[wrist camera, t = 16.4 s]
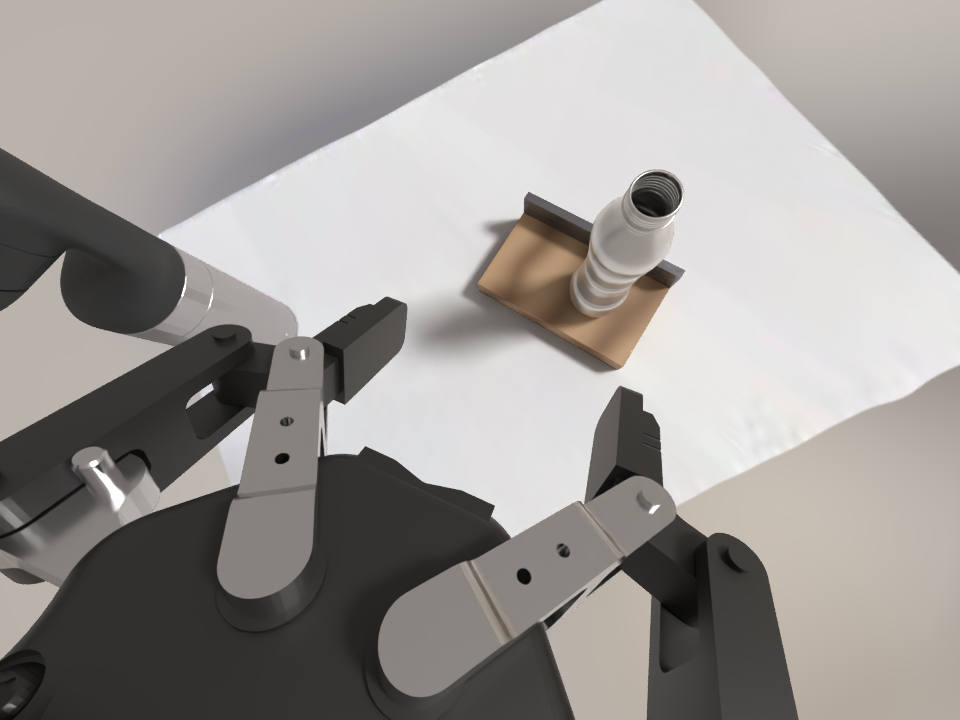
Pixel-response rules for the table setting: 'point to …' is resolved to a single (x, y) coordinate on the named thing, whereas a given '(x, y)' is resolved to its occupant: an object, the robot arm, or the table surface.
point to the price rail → (588, 233)
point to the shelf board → (565, 292)
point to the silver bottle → (627, 242)
